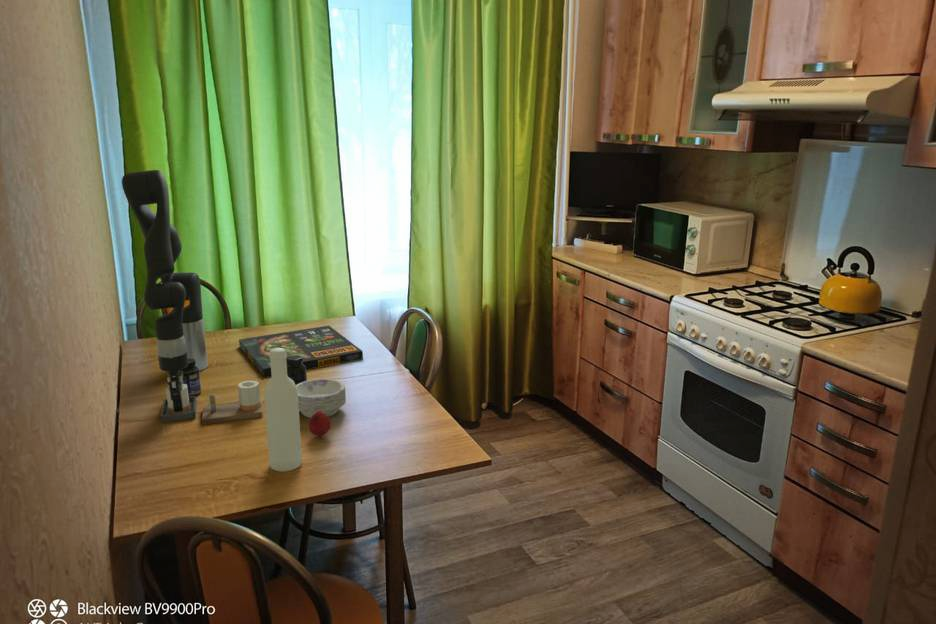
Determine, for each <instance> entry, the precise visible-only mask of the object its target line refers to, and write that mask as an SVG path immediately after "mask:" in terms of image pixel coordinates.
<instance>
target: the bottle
mask: <svg viewBox="0 0 936 624" xmlns="http://www.w3.org/2000/svg"><path fill="white" fill-rule="evenodd" d="M286 356H287V354H286V350H285V349H283V348H274V349H272V350H270V356H269V358H270V362H271V375H272V376H271V378H270V379H269V380H268V381H267V382H266V384H265V387H264V391H263V398H264V400H263V402H264V409H265V411H264V413H265V424H266V435H267V447H268V462H269V467H270V469H271V470H273V471H275V472H281V473H282V472H291V471H293V470H296V469H297V468H299V467H300V466H301V465H302V464H303V450H302V441H301V425H300V411H299V407H298V393H297V387H296V385H295V383H294V381H293V380H292V379H290V378H289V377H288V376H287V364H286Z"/></svg>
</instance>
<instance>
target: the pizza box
mask: <svg viewBox="0 0 936 624" xmlns="http://www.w3.org/2000/svg"><path fill="white" fill-rule="evenodd" d="M238 342H239V348H240V349H241V351H242V352H243V353H244V354H245V355H246V356H247V358H248V359H249V361H251V363H252V364H253V366H254V367H255V368H256V369H257V371H259V373H260V374H261V375H262V377H263V378H267V377H272V375H271V362H270V358H269V356H270V350H272V349H274V348H283V349H285V350H286V354H287V356H286V358H287V357H288V356H292V355H300V356H302V361H303V363H302V364H304V365H305V366H306V371H307V370H311V369H315V368H321V367H327V366H334V365H338V364H344V363H348V362H349V363H350V362H355V361H359V360H364V354H363V353H364V352H363V350H362V349H361V348H360V347H358V346H357V345H355V343H352V341H350V340H348V339H347V338H346V337H345V336H344V335H342V334H341V333H340V332H338V331H337V330H336V329H334V328H333V327H332V326H330V325H325V326H318V327H310V328H306V329H305V328H304V329H298V330H291V331H284V332H278V333H271V334H266V335H259V336H252V337H246V338H239V339H238Z"/></svg>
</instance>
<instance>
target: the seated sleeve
mask: <svg viewBox="0 0 936 624" xmlns="http://www.w3.org/2000/svg"><path fill="white" fill-rule="evenodd" d="M237 391H238V392H237V393H238V394H237V395H238V401H239V405H240V409H242V410H244V411H250V410H255V409H258V408H259V407H260V406H261V407H262V403H261V392H260V383H259V381H257V380H245V381H242V382H240V383H238V384H237Z"/></svg>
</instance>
